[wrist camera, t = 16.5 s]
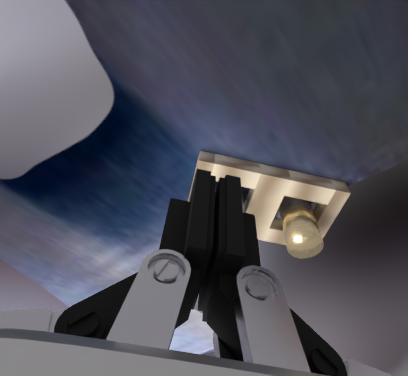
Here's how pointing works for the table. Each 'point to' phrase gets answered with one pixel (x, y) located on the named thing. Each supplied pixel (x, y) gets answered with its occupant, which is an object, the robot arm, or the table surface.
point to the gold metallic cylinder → (300, 228)
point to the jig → (277, 192)
